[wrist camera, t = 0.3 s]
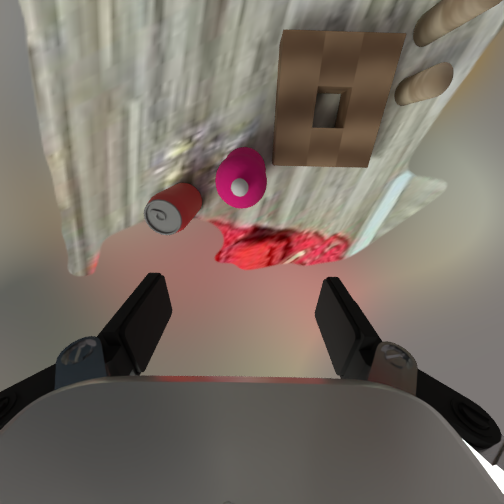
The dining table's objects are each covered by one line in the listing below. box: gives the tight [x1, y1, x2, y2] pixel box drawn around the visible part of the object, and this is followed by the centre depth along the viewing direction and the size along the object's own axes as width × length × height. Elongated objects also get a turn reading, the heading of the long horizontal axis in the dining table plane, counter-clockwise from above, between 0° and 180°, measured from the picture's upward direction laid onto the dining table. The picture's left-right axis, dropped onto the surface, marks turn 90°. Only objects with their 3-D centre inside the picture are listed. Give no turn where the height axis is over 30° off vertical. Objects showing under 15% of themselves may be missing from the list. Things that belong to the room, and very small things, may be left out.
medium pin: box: [413, 0, 502, 47], centre depth 23 cm, size 4×4×9 cm
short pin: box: [395, 62, 453, 106], centre depth 28 cm, size 4×4×6 cm
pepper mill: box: [215, 147, 267, 208], centre depth 27 cm, size 7×7×20 cm
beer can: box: [144, 183, 202, 235], centre depth 34 cm, size 7×7×12 cm
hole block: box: [272, 30, 406, 168], centre depth 30 cm, size 16×16×4 cm
